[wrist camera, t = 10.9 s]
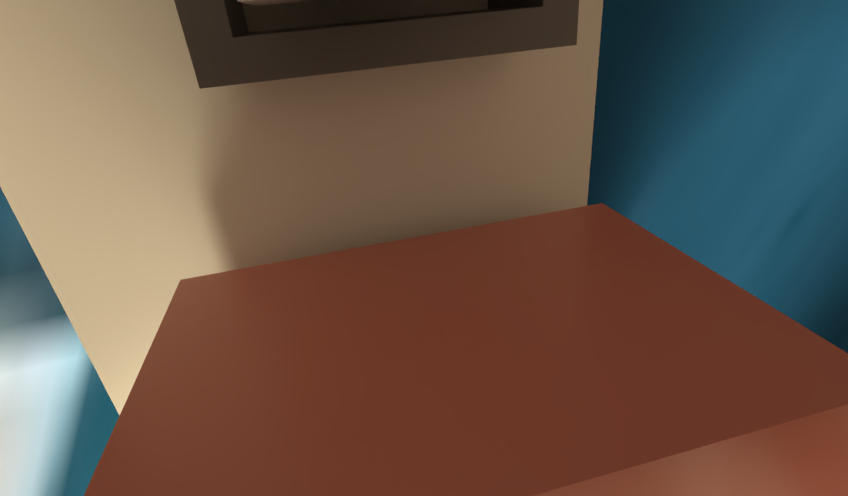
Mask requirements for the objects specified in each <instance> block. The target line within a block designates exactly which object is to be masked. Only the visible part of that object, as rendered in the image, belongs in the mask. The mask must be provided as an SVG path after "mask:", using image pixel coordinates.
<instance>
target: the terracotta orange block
mask: <svg viewBox="0 0 848 496" xmlns="http://www.w3.org/2000/svg"><path fill="white" fill-rule="evenodd" d="M84 496H848V353H846V352H845V351H843V350H842V349H840V348H838V347H837V346H835V345H833V344H832V343H830V342H828V341H827V340H825V339H824V338H822V337H820V336H819V335H817V334H815V333H814V332H812V331H810V330H809V329H807V328H806V327H804V326H802V325H801V324H799V323H797V322H796V321H794V320H792V319H791V318H789V317H788V316H786V315H784V314H783V313H781V312H779V311H778V310H776V309H775V308H773V307H771V306H770V305H768V304H766V303H765V302H763V301H761V300H760V299H758V298H757V297H755V296H753V295H752V294H750V293H748V292H747V291H745V290H743V289H742V288H740V287H739V286H737V285H735V284H734V283H732V282H730V281H729V280H727V279H726V278H724V277H722V276H721V275H719V274H717V273H716V272H714V271H712V270H711V269H709V268H708V267H706V266H704V265H703V264H701V263H699V262H698V261H696V260H694V259H693V258H691V257H690V256H688V255H686V254H685V253H683V252H681V251H680V250H678V249H677V248H675V247H673V246H672V245H670V244H668V243H667V242H665V241H663V240H662V239H660V238H659V237H657V236H655V235H654V234H652V233H650V232H649V231H647V230H645V229H644V228H642V227H641V226H639V225H637V224H636V223H634V222H632V221H631V220H629V219H627V218H626V217H624V216H623V215H621V214H619V213H618V212H616V211H614V210H613V209H611V208H610V207H608V206H606V205H605V204H603V203H600V204H594V205H589V206H583V207H578V208H572V209H567V210H561V211H556V212H550V213H545V214H539V215H534V216H528V217H523V218H517V219H512V220H506V221H501V222H495V223H490V224H484V225H479V226H473V227H468V228H462V229H457V230H451V231H446V232H440V233H435V234H429V235H424V236H418V237H413V238H407V239H402V240H396V241H391V242H385V243H380V244H374V245H369V246H363V247H358V248H352V249H347V250H341V251H336V252H330V253H325V254H319V255H314V256H308V257H303V258H297V259H292V260H286V261H281V262H275V263H270V264H264V265H259V266H253V267H248V268H242V269H237V270H231V271H226V272H220V273H215V274H209V275H204V276H198V277H193V278H187V279H182V280H180V282H179V284H178V286H177V288H176V291H175V293H174V295H173V297H172V300H171V302H170V304H169V306H168V309H167V311H166V313H165V315H164V317H163V320H162V322H161V324H160V326H159V329H158V331H157V333H156V335H155V338H154V340H153V342H152V344H151V347H150V349H149V351H148V353H147V356H146V358H145V360H144V362H143V364H142V367H141V369H140V371H139V373H138V376H137V378H136V380H135V382H134V385H133V387H132V389H131V391H130V394H129V396H128V398H127V400H126V403H125V405H124V407H123V409H122V411H121V414H120V416H119V418H118V420H117V423H116V425H115V427H114V429H113V432H112V434H111V436H110V438H109V441H108V443H107V445H106V447H105V450H104V452H103V454H102V456H101V458H100V461H99V463H98V465H97V467H96V470H95V472H94V474H93V476H92V479H91V481H90V483H89V485H88V488H87V490H86V492H85V494H84Z"/></svg>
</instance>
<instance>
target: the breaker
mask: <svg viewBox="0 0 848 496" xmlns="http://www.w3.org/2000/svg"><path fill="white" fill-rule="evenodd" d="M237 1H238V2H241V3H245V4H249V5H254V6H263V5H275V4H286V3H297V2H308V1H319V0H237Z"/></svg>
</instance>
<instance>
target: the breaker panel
mask: <svg viewBox="0 0 848 496" xmlns="http://www.w3.org/2000/svg"><path fill="white" fill-rule="evenodd" d="M602 11H603V0H319V1H308V2H297V3H286V4H275V5H263V6H254V5H249V4H245V3H241V2H238V1H237V0H0V187H1V189H2V191H3V193H4V195H5V197H6V198H7V200H8V202H9V204H10V206H11V208H12V210H13V212H14V214H15V216H16V218H17V220H18V221H19V223H20V225H21V227H22V229H23V231H24V233H25V235H26V237H27V239H28V241H29V243H30V245H31V246H32V248H33V250H34V252H35V254H36V256H37V258H38V260H39V262H40V264H41V266H42V268H43V269H44V271H45V273H46V275H47V277H48V279H49V281H50V283H51V285H52V287H53V289H54V291H55V293H56V294H57V296H58V298H59V300H60V302H61V304H62V306H63V308H64V310H65V312H66V314H67V316H68V317H69V319H70V321H71V323H72V325H73V327H74V329H75V331H76V333H77V335H78V337H79V339H80V341H81V342H82V344H83V346H84V348H85V350H86V352H87V354H88V356H89V358H90V360H91V362H92V364H93V365H94V367H95V369H96V371H97V373H98V375H99V377H100V379H101V381H102V383H103V385H104V387H105V389H106V390H107V392H108V394H109V396H110V398H111V400H112V402H113V404H114V406H115V408H116V410H117V412H118V414H119V415H120V414H121V411H122V409H123V407H124V405H125V403H126V400H127V398H128V396H129V394H130V391H131V389H132V387H133V385H134V382H135V380H136V378H137V376H138V373H139V371H140V369H141V367H142V364H143V362H144V360H145V358H146V356H147V353H148V351H149V349H150V347H151V344H152V342H153V340H154V338H155V335H156V333H157V331H158V329H159V326H160V324H161V322H162V320H163V317H164V315H165V313H166V311H167V309H168V306H169V304H170V302H171V300H172V297H173V295H174V293H175V291H176V288H177V286H178V284H179V282H180V280H182V279H187V278H193V277H198V276H204V275H209V274H215V273H220V272H226V271H231V270H237V269H242V268H248V267H253V266H259V265H264V264H270V263H275V262H281V261H286V260H292V259H297V258H303V257H308V256H314V255H319V254H325V253H330V252H336V251H341V250H347V249H352V248H358V247H363V246H369V245H374V244H380V243H385V242H391V241H396V240H402V239H407V238H413V237H418V236H424V235H429V234H435V233H440V232H446V231H451V230H457V229H462V228H468V227H473V226H479V225H484V224H490V223H495V222H501V221H506V220H512V219H517V218H523V217H528V216H534V215H539V214H545V213H550V212H556V211H561V210H567V209H572V208H578V207H583V206H587V200H588V188H589V175H590V162H591V150H592V137H593V124H594V112H595V99H596V87H597V74H598V61H599V49H600V36H601V23H602Z"/></svg>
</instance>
